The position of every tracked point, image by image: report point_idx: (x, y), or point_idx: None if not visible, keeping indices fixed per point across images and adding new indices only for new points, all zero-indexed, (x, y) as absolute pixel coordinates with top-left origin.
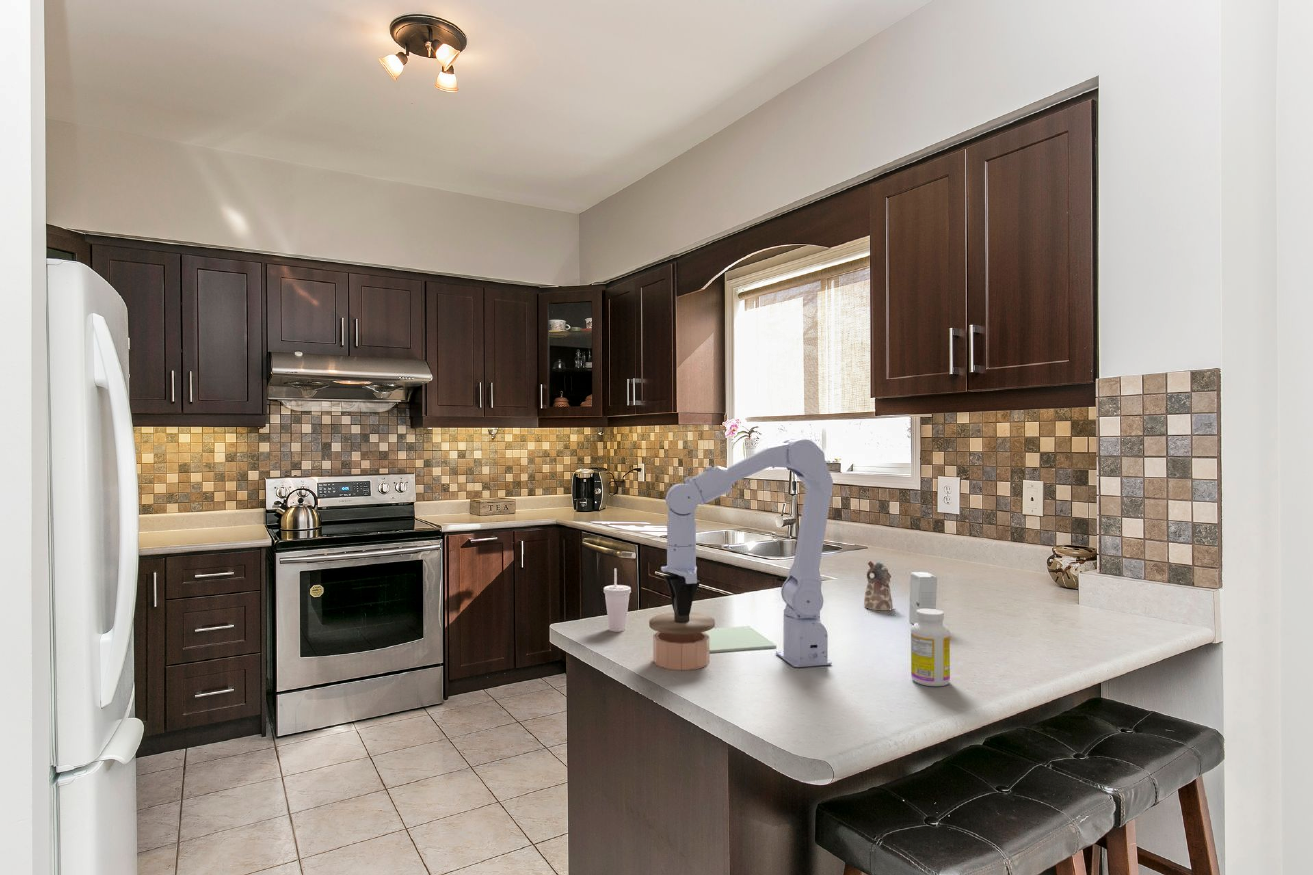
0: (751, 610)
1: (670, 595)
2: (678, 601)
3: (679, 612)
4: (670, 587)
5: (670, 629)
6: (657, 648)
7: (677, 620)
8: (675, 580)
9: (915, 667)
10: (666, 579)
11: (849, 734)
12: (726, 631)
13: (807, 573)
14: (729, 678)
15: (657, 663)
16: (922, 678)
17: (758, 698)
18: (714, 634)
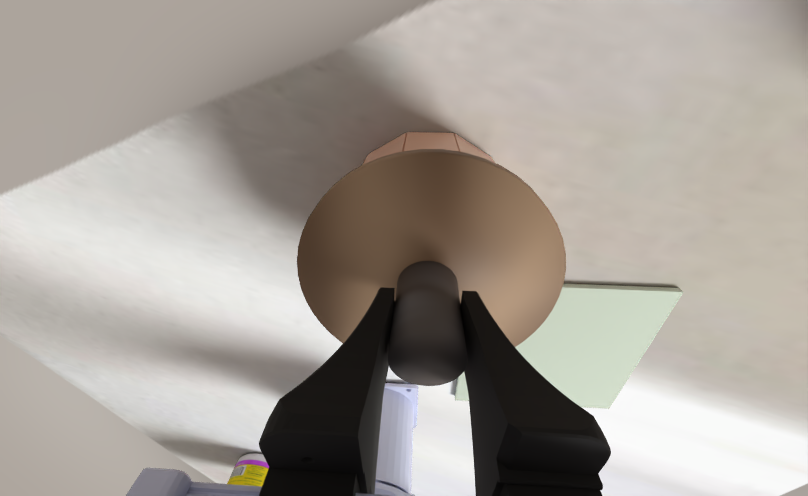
0: (727, 444)
1: (501, 336)
2: (354, 332)
3: (375, 297)
4: (488, 377)
5: (312, 213)
6: (399, 149)
7: (408, 270)
8: (308, 449)
9: (243, 475)
10: (505, 418)
11: (30, 332)
12: (598, 366)
13: None
14: (279, 271)
15: (402, 135)
16: (240, 462)
17: (161, 279)
18: (592, 341)
